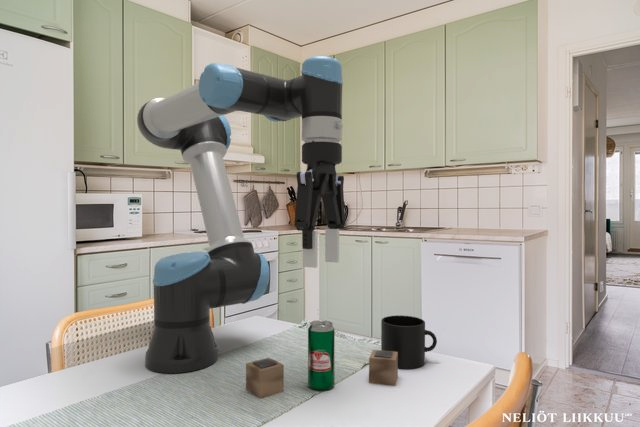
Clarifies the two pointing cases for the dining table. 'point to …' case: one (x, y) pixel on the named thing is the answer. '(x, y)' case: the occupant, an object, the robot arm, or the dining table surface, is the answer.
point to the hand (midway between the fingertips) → (321, 264)
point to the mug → (406, 339)
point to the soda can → (321, 355)
